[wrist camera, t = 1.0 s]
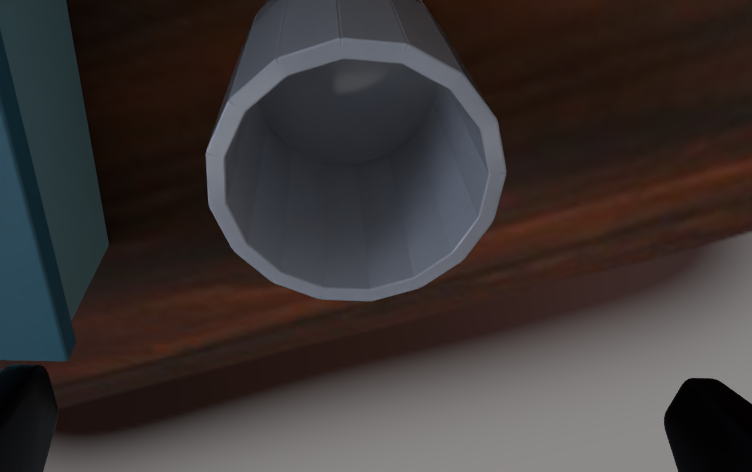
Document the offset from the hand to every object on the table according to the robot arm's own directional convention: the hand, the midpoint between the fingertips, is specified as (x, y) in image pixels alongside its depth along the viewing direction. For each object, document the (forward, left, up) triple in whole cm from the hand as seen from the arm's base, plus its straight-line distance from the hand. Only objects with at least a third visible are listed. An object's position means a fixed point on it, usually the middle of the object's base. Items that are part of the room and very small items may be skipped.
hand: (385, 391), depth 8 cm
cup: (0, 0, -12) cm, 13 cm away
